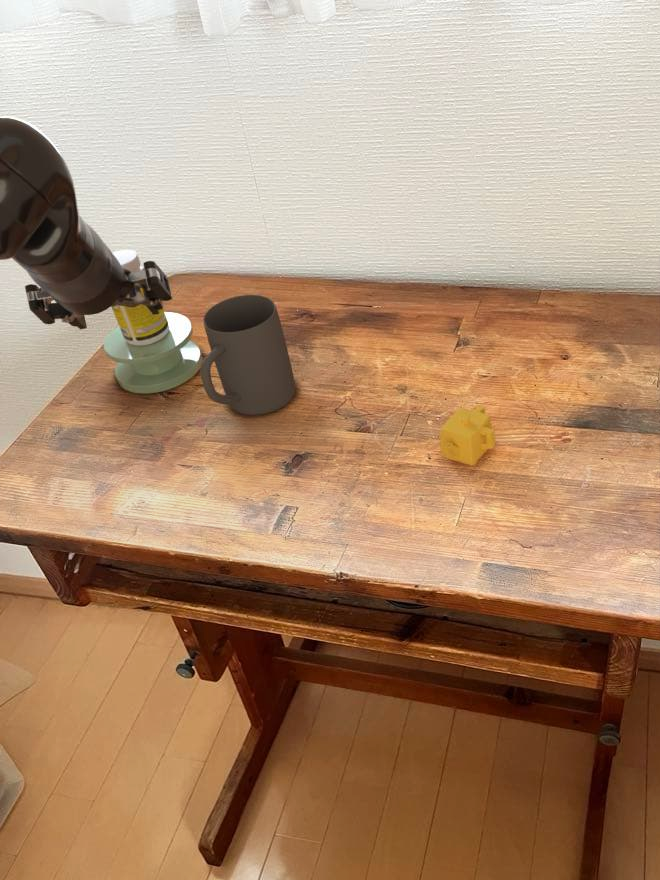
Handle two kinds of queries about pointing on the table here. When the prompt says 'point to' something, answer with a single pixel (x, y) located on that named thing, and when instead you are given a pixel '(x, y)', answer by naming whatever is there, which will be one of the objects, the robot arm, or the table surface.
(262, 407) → the mug
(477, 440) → the yellow snap cube
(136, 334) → the pill bottle
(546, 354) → the table surface
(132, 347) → the stand
